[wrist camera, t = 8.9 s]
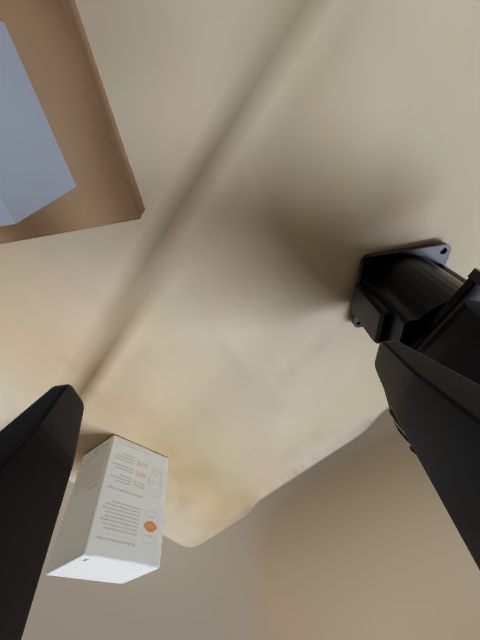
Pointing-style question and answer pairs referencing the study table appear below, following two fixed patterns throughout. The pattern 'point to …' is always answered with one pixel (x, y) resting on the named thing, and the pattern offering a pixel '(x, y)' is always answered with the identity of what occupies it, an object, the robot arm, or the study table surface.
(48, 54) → the walnut slab
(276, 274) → the study table surface
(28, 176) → the blue cube
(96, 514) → the small box
